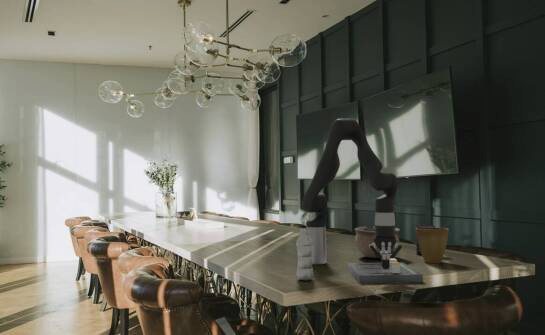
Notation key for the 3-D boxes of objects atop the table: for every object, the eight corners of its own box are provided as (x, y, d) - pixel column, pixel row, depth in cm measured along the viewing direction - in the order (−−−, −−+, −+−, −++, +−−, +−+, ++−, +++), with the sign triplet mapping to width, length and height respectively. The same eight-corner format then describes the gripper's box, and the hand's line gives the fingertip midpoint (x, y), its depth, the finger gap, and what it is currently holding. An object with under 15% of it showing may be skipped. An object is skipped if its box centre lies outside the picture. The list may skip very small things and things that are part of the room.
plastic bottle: (315, 281, 185) (314, 229, 185) (297, 282, 184) (297, 230, 185) (312, 278, 191) (311, 228, 192) (295, 278, 191) (294, 228, 191)
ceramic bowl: (396, 254, 251) (395, 225, 252) (403, 261, 230) (402, 230, 230) (353, 254, 254) (353, 226, 254) (356, 261, 232) (356, 230, 232)
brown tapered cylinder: (415, 253, 256) (415, 225, 256) (435, 253, 253) (434, 225, 254) (416, 255, 246) (415, 226, 247) (436, 256, 243) (435, 227, 244)
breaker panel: (359, 283, 181) (359, 275, 181) (347, 270, 209) (347, 262, 209) (422, 282, 181) (422, 274, 181) (402, 269, 209) (402, 262, 209)
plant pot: (452, 265, 218) (451, 229, 218) (418, 264, 221) (417, 229, 221) (446, 260, 232) (446, 226, 233) (415, 259, 235) (414, 226, 236)
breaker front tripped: (392, 273, 183) (391, 263, 183) (389, 271, 187) (389, 261, 187) (400, 273, 183) (399, 263, 183) (397, 271, 187) (397, 261, 187)
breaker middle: (389, 268, 193) (389, 260, 193) (387, 266, 197) (387, 258, 197) (397, 268, 193) (397, 260, 193) (394, 266, 197) (394, 258, 197)
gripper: (369, 225, 182) (370, 271, 181) (404, 224, 181) (405, 270, 181) (365, 223, 189) (366, 267, 189) (399, 223, 189) (400, 267, 188)
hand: (385, 269), depth 185 cm, fingers closed
